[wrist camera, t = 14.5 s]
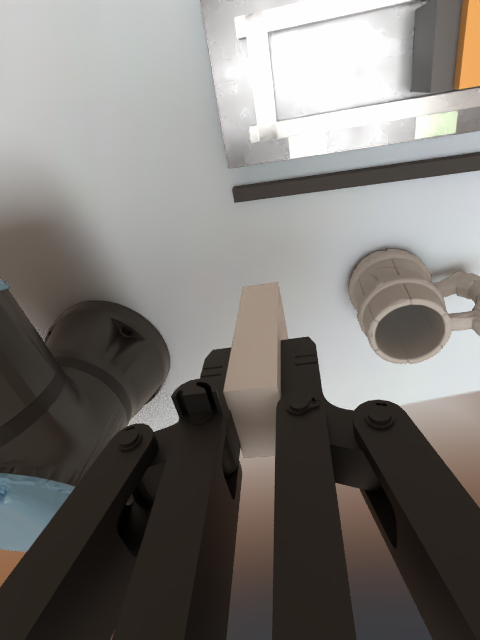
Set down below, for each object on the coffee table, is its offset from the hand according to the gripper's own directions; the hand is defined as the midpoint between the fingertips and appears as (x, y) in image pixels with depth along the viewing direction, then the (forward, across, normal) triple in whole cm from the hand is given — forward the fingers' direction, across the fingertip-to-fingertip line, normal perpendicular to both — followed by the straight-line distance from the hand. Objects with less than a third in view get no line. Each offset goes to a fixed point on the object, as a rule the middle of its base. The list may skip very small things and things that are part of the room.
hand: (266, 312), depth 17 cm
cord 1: (+22, +8, 0) cm, 24 cm away
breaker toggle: (+21, +14, +8) cm, 26 cm away
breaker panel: (+22, +9, +8) cm, 26 cm away
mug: (+23, +12, -11) cm, 28 cm away
